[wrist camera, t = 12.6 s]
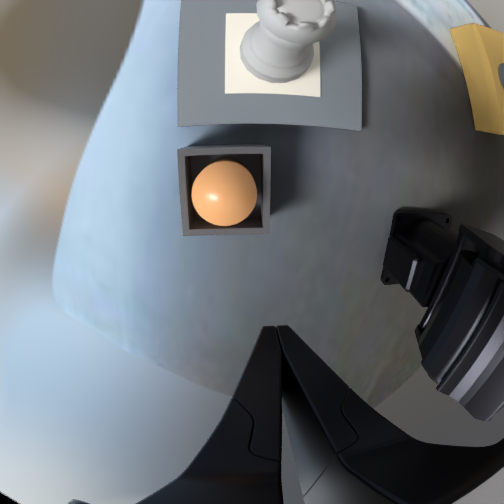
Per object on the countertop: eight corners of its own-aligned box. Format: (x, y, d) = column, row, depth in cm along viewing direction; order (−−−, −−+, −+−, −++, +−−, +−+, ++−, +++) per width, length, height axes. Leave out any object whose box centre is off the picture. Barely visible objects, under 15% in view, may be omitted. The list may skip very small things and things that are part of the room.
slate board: (352, 9, 13) (357, 5, 12) (356, 130, 17) (361, 130, 16) (183, 0, 12) (181, -5, 11) (180, 126, 16) (177, 126, 16)
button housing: (265, 144, 17) (270, 146, 14) (264, 218, 19) (269, 234, 17) (186, 146, 17) (177, 149, 14) (190, 220, 19) (183, 235, 16)
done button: (254, 157, 16) (257, 161, 14) (254, 213, 18) (256, 225, 16) (196, 159, 16) (190, 164, 14) (199, 214, 18) (193, 226, 16)
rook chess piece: (313, 32, 13) (361, -19, 6) (305, 90, 15) (356, 65, 8) (244, 20, 13) (250, -45, 5) (234, 79, 14) (231, 39, 7)
